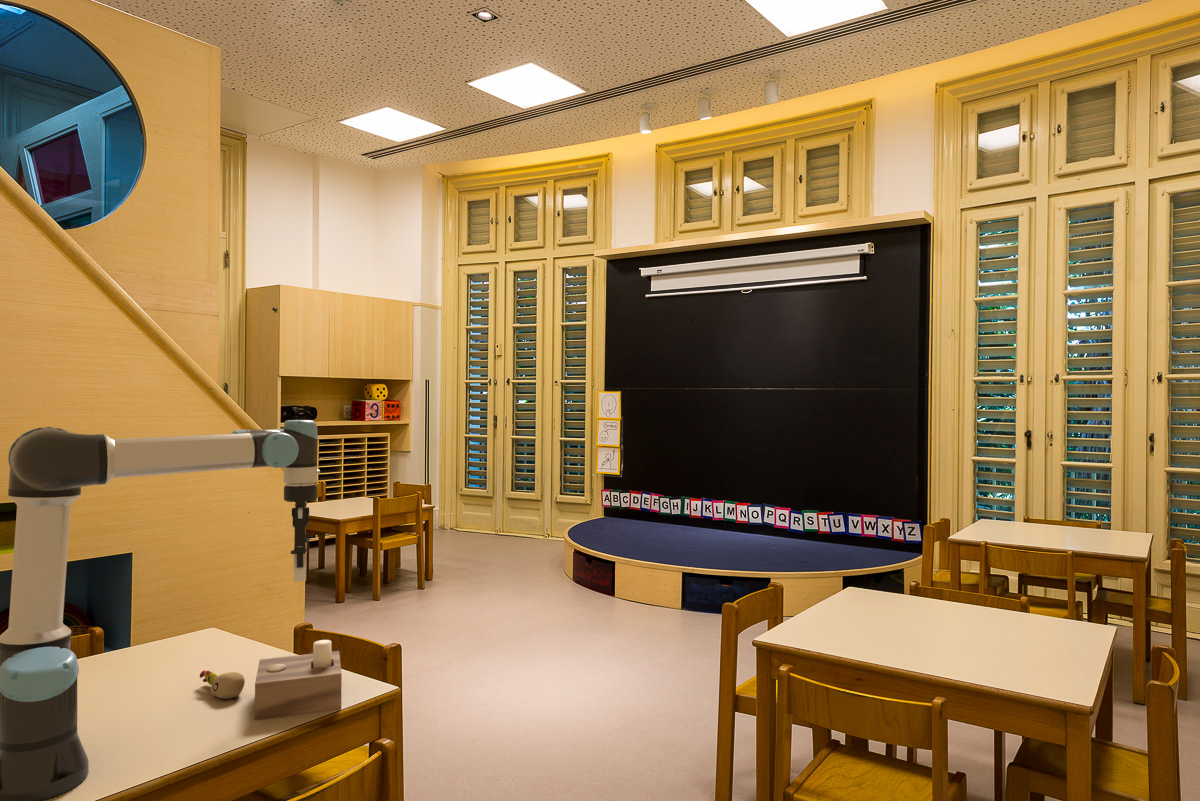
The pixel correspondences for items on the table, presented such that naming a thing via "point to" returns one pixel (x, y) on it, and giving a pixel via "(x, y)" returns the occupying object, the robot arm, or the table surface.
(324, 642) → the dowel
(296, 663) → the socket block
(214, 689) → the toy
